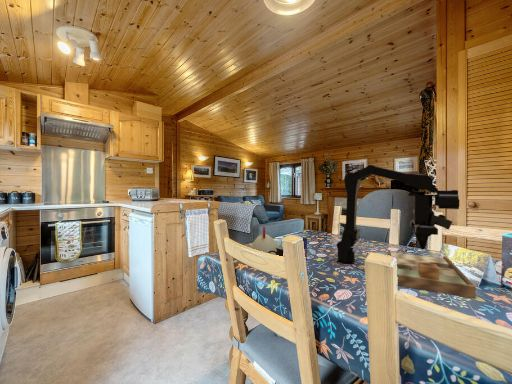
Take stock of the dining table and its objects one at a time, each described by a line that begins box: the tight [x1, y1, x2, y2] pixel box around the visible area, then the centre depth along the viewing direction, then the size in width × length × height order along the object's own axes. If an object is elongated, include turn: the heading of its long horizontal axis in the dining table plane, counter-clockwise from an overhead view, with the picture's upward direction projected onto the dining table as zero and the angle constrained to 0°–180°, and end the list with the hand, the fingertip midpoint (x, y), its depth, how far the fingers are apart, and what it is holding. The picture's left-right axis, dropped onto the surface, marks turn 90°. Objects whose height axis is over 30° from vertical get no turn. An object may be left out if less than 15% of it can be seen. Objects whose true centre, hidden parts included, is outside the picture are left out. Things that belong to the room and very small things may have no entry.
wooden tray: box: [387, 249, 477, 299], centre depth 90 cm, size 22×35×4 cm, turn 152°
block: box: [419, 262, 439, 280], centre depth 80 cm, size 5×5×4 cm
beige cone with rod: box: [249, 226, 278, 255], centre depth 108 cm, size 14×14×15 cm
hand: (422, 249), depth 88 cm, fingers closed
